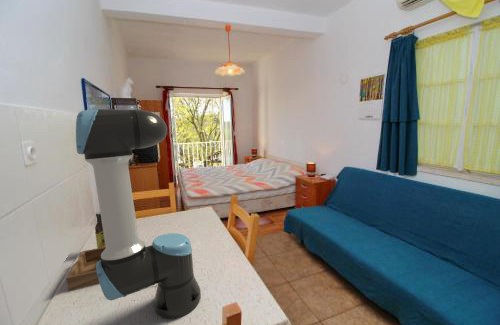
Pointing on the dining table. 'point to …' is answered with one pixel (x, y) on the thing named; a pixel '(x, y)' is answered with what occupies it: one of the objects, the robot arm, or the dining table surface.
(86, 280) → the caddy
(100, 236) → the sauce bottle
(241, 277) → the dining table surface
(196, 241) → the dining table surface
